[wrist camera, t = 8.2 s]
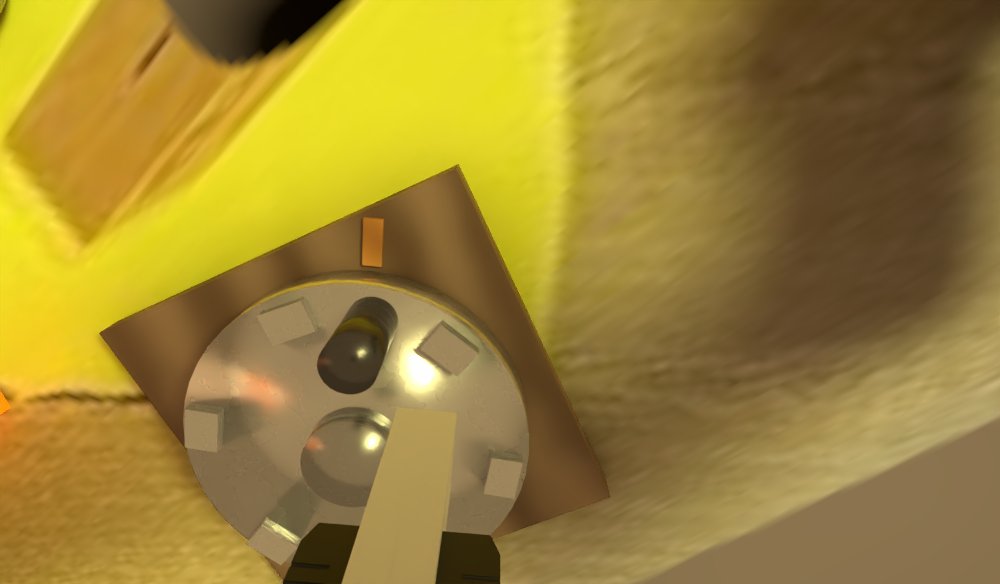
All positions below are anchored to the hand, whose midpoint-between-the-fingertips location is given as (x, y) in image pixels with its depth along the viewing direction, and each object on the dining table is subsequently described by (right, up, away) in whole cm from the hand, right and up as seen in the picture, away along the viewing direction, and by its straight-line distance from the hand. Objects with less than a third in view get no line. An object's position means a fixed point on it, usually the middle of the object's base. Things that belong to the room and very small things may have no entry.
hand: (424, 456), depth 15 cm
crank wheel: (-7, -5, +25) cm, 27 cm away
